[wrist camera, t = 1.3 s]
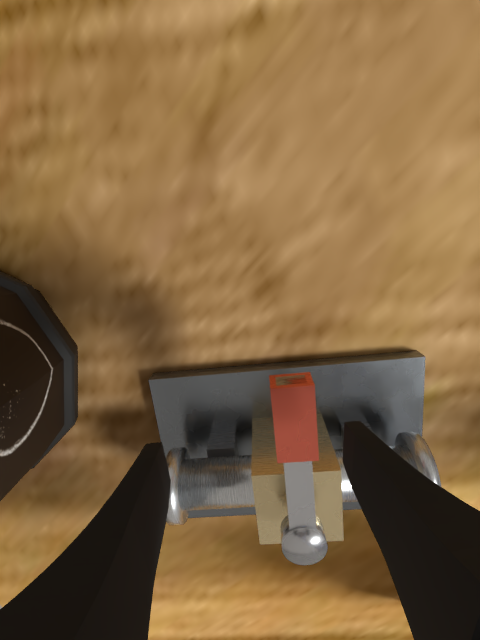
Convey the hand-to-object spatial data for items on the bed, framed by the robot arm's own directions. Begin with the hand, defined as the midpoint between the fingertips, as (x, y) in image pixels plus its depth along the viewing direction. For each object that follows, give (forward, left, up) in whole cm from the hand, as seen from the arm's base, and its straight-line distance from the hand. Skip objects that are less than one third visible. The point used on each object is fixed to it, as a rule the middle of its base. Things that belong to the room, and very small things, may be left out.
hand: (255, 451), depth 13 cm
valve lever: (-4, -3, -4) cm, 6 cm away
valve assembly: (-8, -3, -12) cm, 15 cm away
